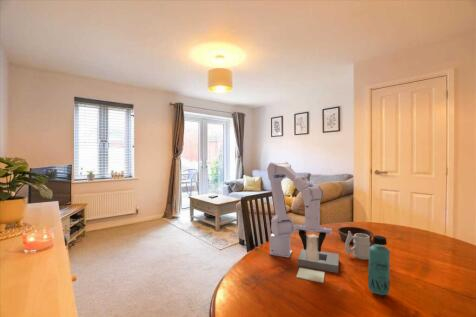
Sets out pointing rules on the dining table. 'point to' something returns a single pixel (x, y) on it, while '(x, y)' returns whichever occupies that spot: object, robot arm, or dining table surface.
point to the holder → (320, 261)
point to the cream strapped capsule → (312, 248)
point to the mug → (358, 245)
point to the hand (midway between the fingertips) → (312, 249)
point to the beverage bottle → (379, 266)
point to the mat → (311, 275)
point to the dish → (353, 232)
